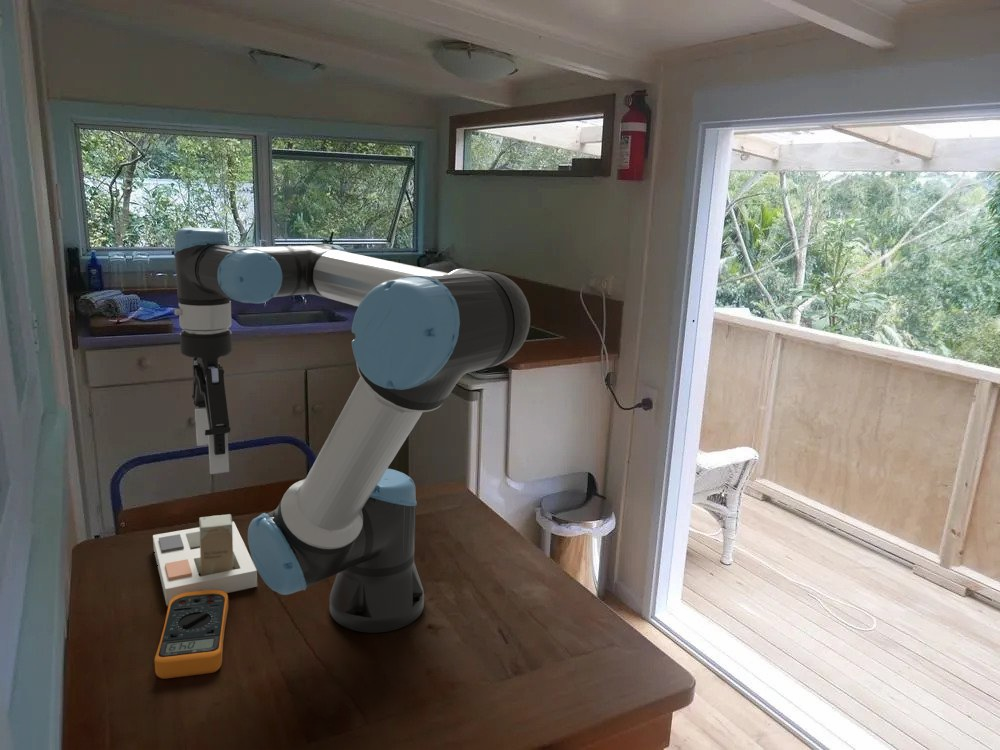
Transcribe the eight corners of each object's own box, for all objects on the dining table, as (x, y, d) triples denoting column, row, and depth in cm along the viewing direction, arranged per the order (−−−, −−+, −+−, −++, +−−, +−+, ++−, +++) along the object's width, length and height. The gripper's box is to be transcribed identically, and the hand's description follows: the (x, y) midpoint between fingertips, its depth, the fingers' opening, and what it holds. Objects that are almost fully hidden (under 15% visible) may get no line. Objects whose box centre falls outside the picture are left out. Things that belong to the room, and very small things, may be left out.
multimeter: (229, 605, 119) (228, 585, 118) (221, 675, 102) (220, 654, 101) (172, 610, 117) (170, 591, 116) (154, 684, 100) (152, 662, 99)
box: (201, 588, 122) (198, 527, 120) (200, 576, 126) (197, 516, 123) (235, 583, 125) (232, 523, 122) (233, 571, 128) (230, 512, 126)
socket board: (257, 586, 124) (256, 567, 123) (166, 605, 117) (165, 586, 116) (234, 535, 141) (233, 519, 140) (153, 550, 134) (152, 532, 133)
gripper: (169, 316, 123) (177, 436, 128) (191, 347, 102) (199, 489, 108) (217, 314, 127) (222, 431, 132) (247, 344, 106) (252, 481, 111)
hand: (212, 457), depth 120 cm, fingers open, 13 cm apart
